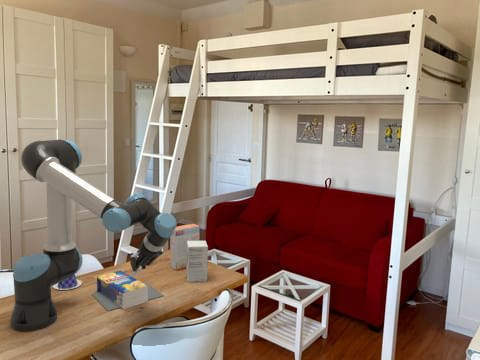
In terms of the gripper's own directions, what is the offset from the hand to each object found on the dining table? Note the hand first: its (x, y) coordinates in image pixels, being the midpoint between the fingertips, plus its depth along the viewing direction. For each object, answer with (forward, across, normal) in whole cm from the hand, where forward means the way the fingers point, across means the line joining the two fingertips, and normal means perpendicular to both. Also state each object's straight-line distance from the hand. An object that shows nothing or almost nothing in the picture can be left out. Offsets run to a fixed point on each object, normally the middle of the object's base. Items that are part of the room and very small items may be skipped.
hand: (134, 273), depth 164 cm
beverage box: (+4, -1, -9) cm, 10 cm away
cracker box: (+25, +37, +8) cm, 45 cm away
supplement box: (+14, +34, -4) cm, 37 cm away
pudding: (+31, -17, +13) cm, 38 cm away
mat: (+13, 0, -4) cm, 14 cm away
